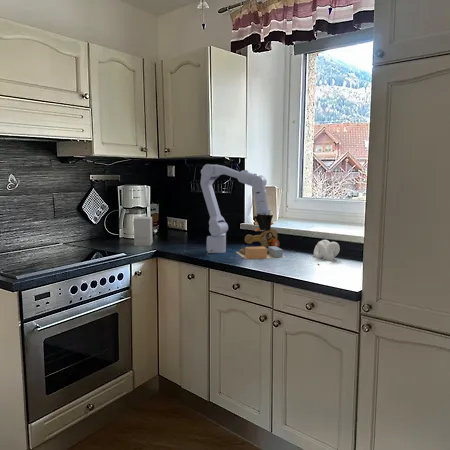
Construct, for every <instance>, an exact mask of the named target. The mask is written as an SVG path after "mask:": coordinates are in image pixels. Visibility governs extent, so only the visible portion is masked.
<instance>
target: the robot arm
mask: <svg viewBox="0 0 450 450" xmlns="http://www.w3.org/2000/svg"><path fill="white" fill-rule="evenodd" d="M200 174H201V176H200V184H199V185H200V186H201V190H202V194H203V198H204V201H205V204H206V208H207V211H208V215H209V220H208V225H209V227H208V231H209V233H210V235H207V236H206V252H207V254H214V253H215V254H216V253H217V254H222V253H226V251H227V248H226V247H227V232H228V231H229V225H228V223H227V222H226V220H225V218H224V217H223V216H222V215H221V210H220V208H219V204H218V201H217V198H216V195H215V194H216V193H215V191H214V188H213V184H214V182H215V180H217V179H218V178H219V177H220V176H221V175H222V176H223V175H224V176H225V175H226V176H229V177H232V178H235V179H237V180H238V182H239V183H241V184H245V185H247V186H250V187H252V189H253V195H254V202H255V216H253V217H254V219H255V221H256V222H257V225H258V228H260V230H259V231H264V230H266V231H269V230H270V229H271V228H272V227H271V226H272V225H271V223H272V220H273V217H274V214H271V211H272V209H269V205H268V204H269V202H268V196H267V190H266V185H267V179H266V177H265V176H263V175H257V173H253V172H250V171H249V170H247V169H244V170H241V171H238V170H235V169H233V168H230V167H228V166H225V165H220V164H217V163H216V164H210V163H206V164H205V165H203V166H202V169H201V170H200Z"/></svg>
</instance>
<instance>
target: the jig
mask: <svg viewBox="0 0 450 450" xmlns="http://www.w3.org/2000/svg"><path fill="white" fill-rule="evenodd" d="M235 253H236V254H238V255H239V256H241V257H242V258H244V259H245V260H249V259H248V258H247V257H245V248H239V251H235ZM279 258H280V259H281V258H283V259H285V258H287V256H285V255H283V257H273V256H271V255H270V254H269V251H268V249H267V258H266V259H279ZM257 259H264V258H254V259H253V260H257Z"/></svg>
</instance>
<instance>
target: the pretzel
mask: <svg viewBox="0 0 450 450" xmlns="http://www.w3.org/2000/svg"><path fill="white" fill-rule="evenodd" d="M340 250H341V248H340V244H339V243H338V242H336V241H329V240H328V239H321V240H320V241H318V242H317V244H315V247H314V249H313V256H314V258H316V259H325V260H326V261H329V262H332V261H333V260H334V258H335V257H336V256H338V254H339V253H340Z"/></svg>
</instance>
